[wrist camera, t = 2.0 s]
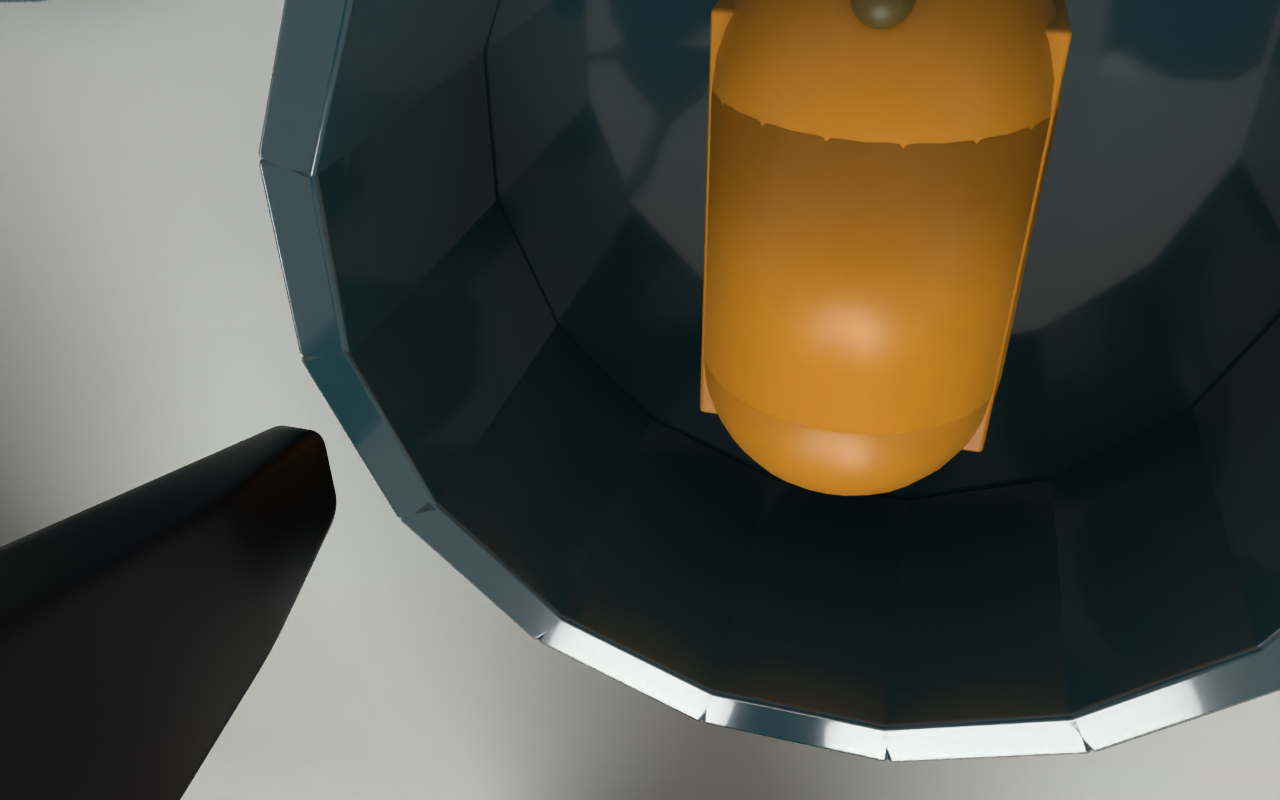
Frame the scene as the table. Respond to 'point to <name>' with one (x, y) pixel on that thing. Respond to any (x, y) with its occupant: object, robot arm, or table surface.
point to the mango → (870, 225)
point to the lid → (7, 0)
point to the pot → (699, 442)
